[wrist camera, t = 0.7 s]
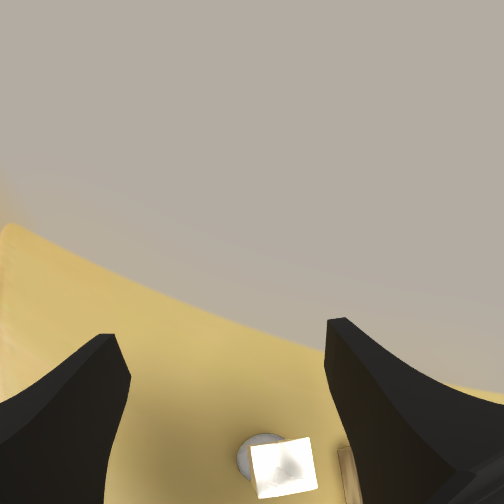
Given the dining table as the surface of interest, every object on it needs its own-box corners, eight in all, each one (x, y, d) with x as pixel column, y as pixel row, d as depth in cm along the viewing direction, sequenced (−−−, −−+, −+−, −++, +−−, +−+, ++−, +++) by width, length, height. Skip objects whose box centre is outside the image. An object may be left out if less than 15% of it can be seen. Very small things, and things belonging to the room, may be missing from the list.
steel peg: (295, 477, 19) (332, 495, 11) (240, 486, 18) (246, 512, 10) (288, 429, 21) (319, 422, 14) (233, 437, 21) (235, 436, 13)
